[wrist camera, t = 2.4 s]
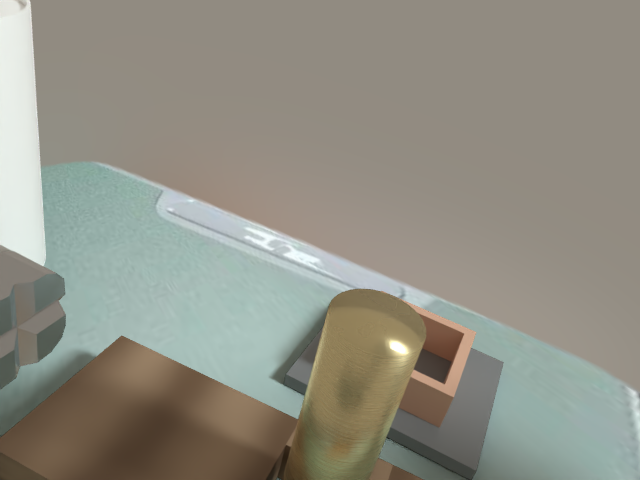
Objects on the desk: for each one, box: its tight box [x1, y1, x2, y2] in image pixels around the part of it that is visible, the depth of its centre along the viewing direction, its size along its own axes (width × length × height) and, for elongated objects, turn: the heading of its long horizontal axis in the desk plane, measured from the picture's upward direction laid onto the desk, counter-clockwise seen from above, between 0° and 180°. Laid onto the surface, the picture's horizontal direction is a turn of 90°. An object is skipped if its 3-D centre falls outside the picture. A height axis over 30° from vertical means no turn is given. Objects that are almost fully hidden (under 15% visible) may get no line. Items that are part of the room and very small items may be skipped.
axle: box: [282, 289, 426, 480], centre depth 26 cm, size 4×4×16 cm
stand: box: [284, 291, 504, 480], centre depth 42 cm, size 14×12×4 cm
